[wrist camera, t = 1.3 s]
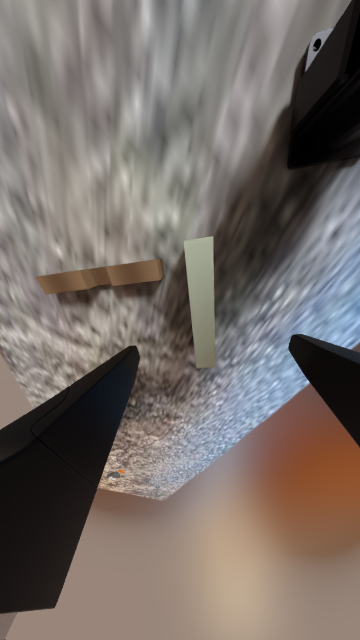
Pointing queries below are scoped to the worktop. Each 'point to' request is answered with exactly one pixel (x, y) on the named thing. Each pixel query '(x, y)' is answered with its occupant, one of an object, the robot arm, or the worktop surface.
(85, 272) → the walnut rail
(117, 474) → the key chain
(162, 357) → the worktop surface
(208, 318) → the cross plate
